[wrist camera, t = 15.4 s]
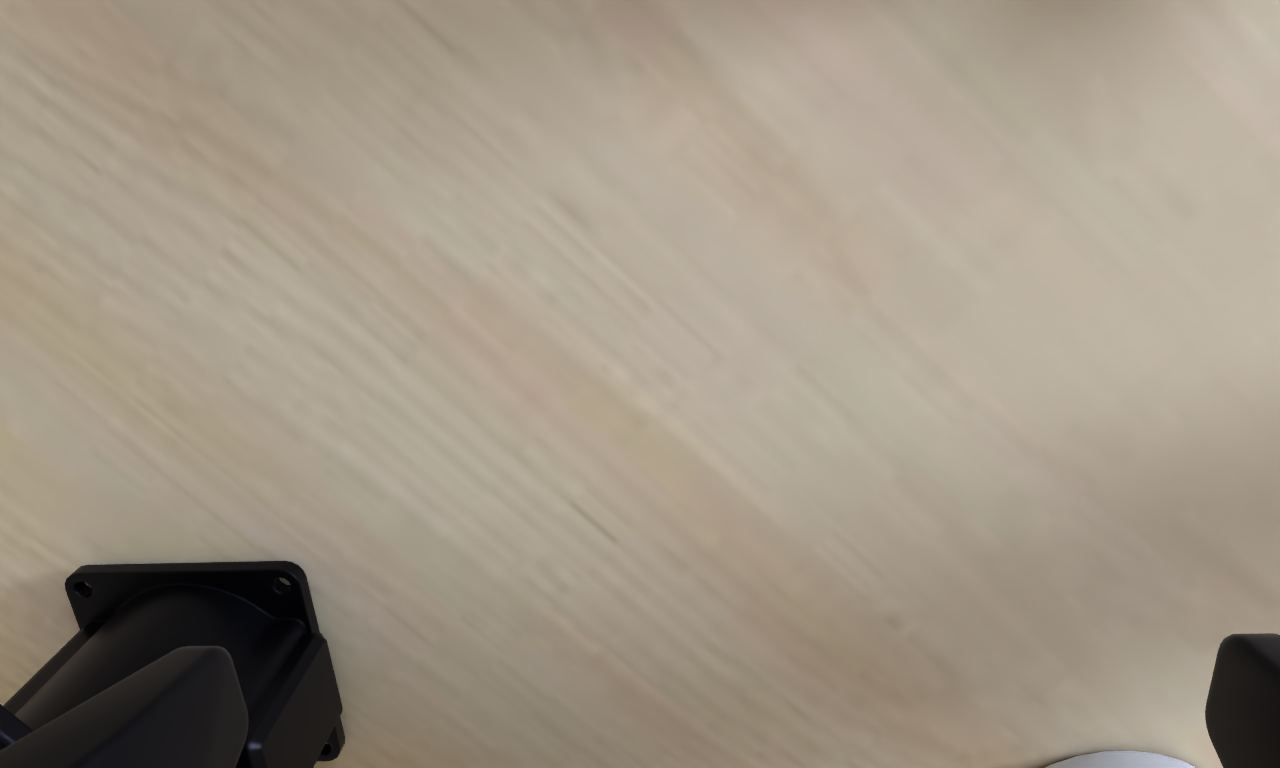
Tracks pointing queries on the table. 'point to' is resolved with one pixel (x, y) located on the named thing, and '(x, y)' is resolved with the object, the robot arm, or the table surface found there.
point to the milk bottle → (1121, 761)
